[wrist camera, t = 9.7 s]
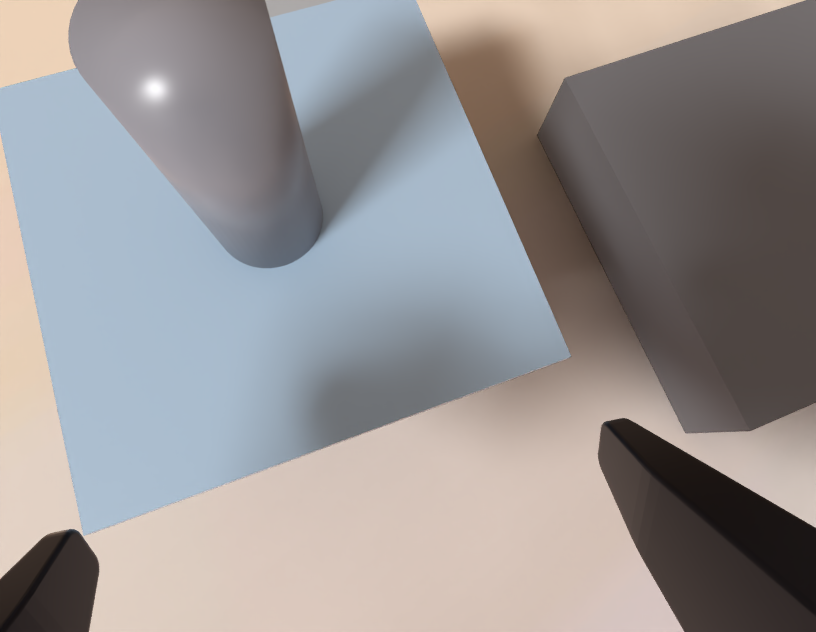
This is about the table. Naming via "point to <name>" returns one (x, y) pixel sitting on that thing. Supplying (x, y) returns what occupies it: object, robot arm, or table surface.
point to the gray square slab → (706, 210)
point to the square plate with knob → (257, 241)
